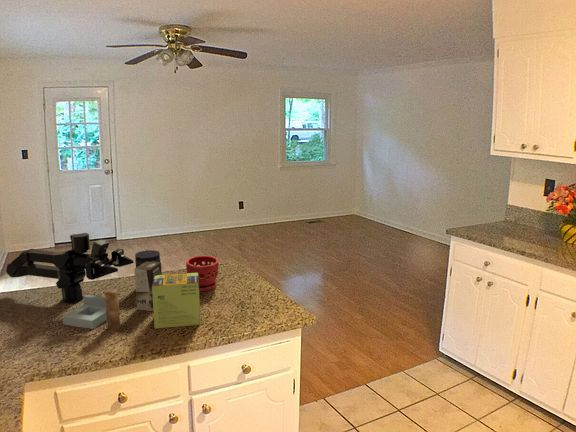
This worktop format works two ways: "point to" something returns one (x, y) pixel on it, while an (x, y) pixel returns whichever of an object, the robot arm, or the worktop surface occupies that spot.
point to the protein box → (176, 300)
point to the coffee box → (146, 284)
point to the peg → (112, 309)
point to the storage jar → (146, 257)
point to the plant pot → (204, 271)
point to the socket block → (87, 313)
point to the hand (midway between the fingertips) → (125, 265)
